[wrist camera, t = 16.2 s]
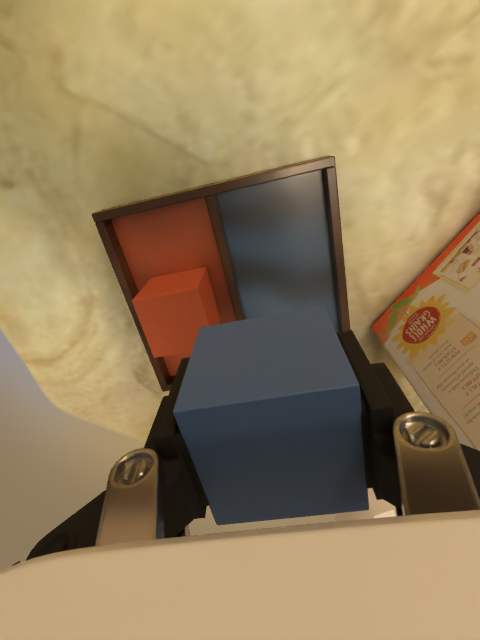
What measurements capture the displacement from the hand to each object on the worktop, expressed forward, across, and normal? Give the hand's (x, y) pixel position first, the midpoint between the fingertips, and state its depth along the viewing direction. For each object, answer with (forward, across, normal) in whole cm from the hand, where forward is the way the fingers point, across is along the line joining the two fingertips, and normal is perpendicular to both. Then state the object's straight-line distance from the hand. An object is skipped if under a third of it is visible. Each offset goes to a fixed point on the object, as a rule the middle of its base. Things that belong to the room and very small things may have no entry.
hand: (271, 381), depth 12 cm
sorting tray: (+15, +2, +1) cm, 15 cm away
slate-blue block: (+1, 0, 0) cm, 1 cm away
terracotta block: (+14, +6, +2) cm, 16 cm away
